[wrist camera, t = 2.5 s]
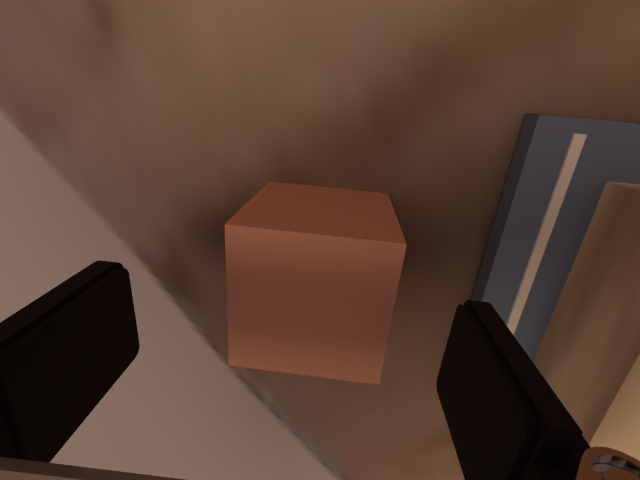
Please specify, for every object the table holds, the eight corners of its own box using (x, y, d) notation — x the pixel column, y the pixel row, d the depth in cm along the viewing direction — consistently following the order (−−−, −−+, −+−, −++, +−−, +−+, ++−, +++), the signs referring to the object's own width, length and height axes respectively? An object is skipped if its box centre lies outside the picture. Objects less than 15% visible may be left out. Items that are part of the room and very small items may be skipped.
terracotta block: (387, 192, 14) (406, 244, 9) (371, 295, 16) (379, 385, 11) (269, 180, 15) (224, 224, 9) (266, 283, 16) (228, 365, 11)
